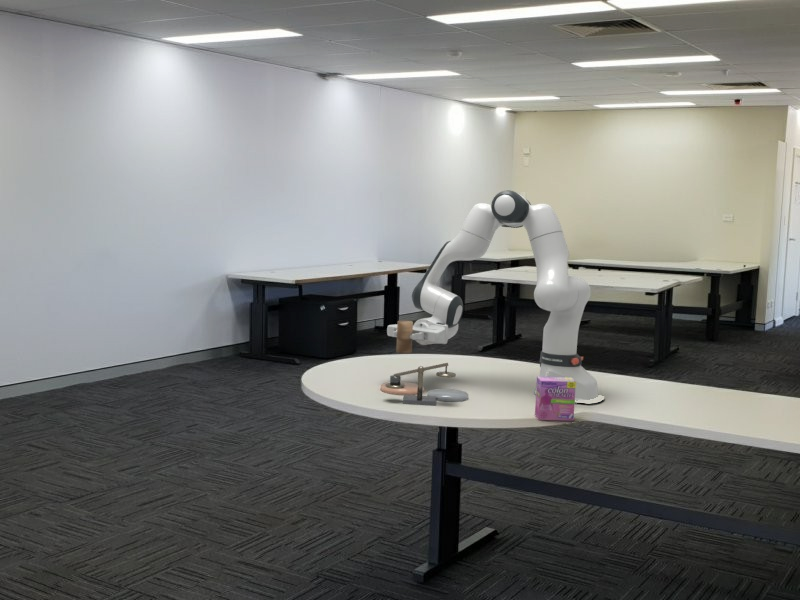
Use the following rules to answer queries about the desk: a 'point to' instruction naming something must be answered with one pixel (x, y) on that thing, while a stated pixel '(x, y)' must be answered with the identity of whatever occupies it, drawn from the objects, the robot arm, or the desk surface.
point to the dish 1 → (402, 389)
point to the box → (555, 398)
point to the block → (404, 337)
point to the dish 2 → (448, 395)
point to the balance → (418, 398)
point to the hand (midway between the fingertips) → (403, 335)
